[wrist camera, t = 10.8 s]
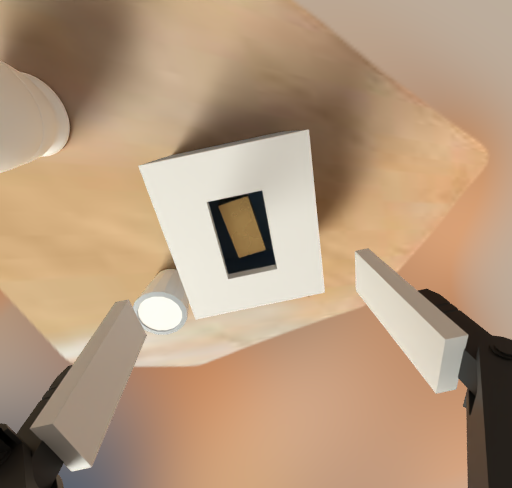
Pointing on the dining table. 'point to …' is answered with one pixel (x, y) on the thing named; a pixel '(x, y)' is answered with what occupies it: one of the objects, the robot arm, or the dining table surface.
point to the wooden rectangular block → (242, 224)
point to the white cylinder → (163, 304)
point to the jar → (28, 119)
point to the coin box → (216, 233)
